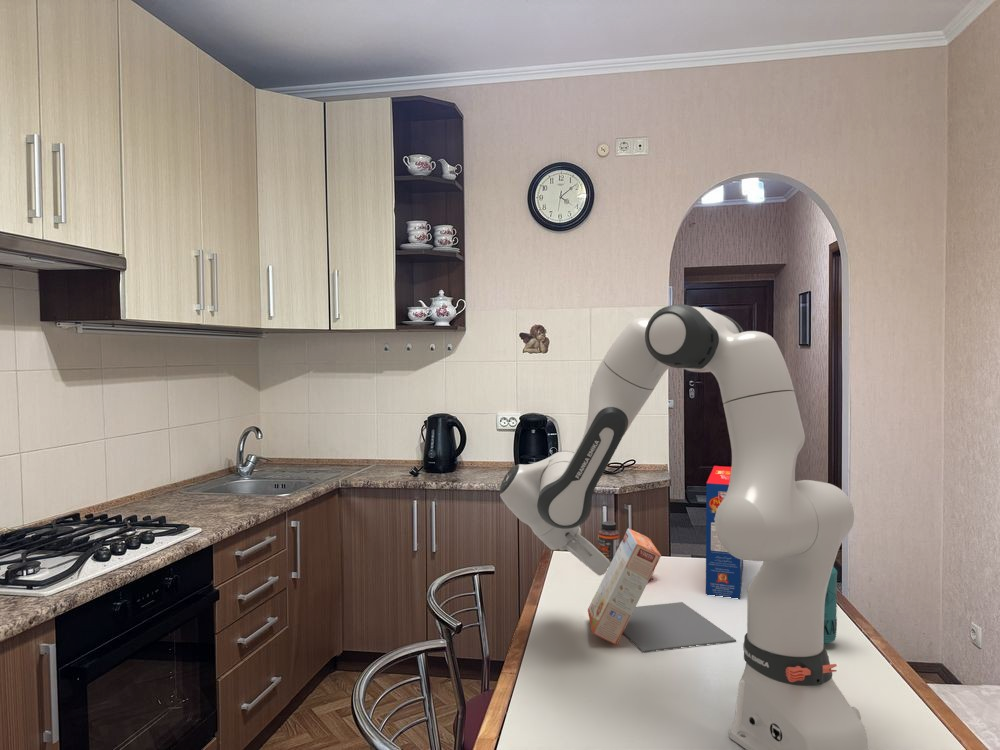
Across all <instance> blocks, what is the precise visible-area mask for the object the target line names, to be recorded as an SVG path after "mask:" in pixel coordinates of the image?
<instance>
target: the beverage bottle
mask: <svg viewBox="0 0 1000 750" xmlns="http://www.w3.org/2000/svg"><path fill="white" fill-rule="evenodd" d="M837 578H838V570H837V569H836V568H835V566H833V568H832V572H831V575H830V579H829V583H828V587H827V591H826V597H825V607H824V642H823V644H824V643H825V644H826V643H833V642H834V641H835V640H836V638H837V634H838V633H837V626H838V624H837V623H838V621H837V616H838V613H837V612H838V610H837V607H838V605H837V602H838V601H837V600H838V596H837V595H838V594H837V589H838V588H837V587H838V584H837V583H838V582H837V581H838V579H837Z"/></svg>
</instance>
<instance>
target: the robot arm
mask: <svg viewBox="0 0 1000 750" xmlns="http://www.w3.org/2000/svg"><path fill="white" fill-rule="evenodd" d="M670 368H674V369H682V370H686V371H689V372H693V373H711V374H713V376H714V377H715V379H716V381H717V383H718V386H719V387H718V388H719V389H720V390H719V391H720V396H721V401H722V404H723V409H724V414H725V419H726V425H727V431H728V435H729V441H730V448H731V466H730V467H731V476H730V482H729V487H728V490H727V493H726V495H725V497H724V499H723V501H722V502H721V504H720V505H719V507H718V509H717V511H716V515H715V529H716V533H717V536H718V539H719V541H720V543H721V544H722V546H723V547H724V548H725V550H726V551H727V552H728V553H730V554H731V555H732V556H734V557H736V558H738V559H741V560H743V561H750V562H762V564H761V566H760V568H759V570H758V572H757V573H756V575H755V576H754V577H753V579H752V580H751V581H750V583H749V586H748V589H747V597H746V598H747V599H746V600H747V605H746V606H747V609H746V610H747V615H746V619H747V621H746V622H747V623H746V628H747V630H746V633H745V634H744V640H743V645H742V648H743V649H742V650H743V660H744V661H745V666H744V669H743V672H742V675H741V678H740V679H739V682H738V688H737V696H736V697H737V698H736V709H735V716H734V717H735V718H734V722H733V724H732V725H731V726H730V727H729V731H728V737H729V738H730V739H731V740H733V742H736V743H737V744H738V745H740V746H741V747H742V748H743V749H745V750H869V742H868V741H869V740H868V735H867V731H866V727H865V725H864V723H863V722H862V718H861V713H860V711H859V709H858V708H857V707H855V706H851V704H850V703H849V701H848V700H847V699H846V697H845V695H844V694H843V693H842V691H841V690H840V688H839V687H838V685H837V683H836V682H835V681H834V679H833V673H835V672H837V671H838V670H837V669H834V668H836V667H837V663H833V664H832V663H831V662H830V657H829V654H828V652H827V648H826V645H825V644H824V643H823V642H824V607H825V597H826V591H827V587H828V583H829V579H830V575H831V572H832V568H833V567H834V564H835V561H836V558H837V555H838V552H839V550H840V547H841V545H842V543H843V541H844V540H845V538H846V537H847V535H848V534H849V533H850V532H851V530H852V528H853V525H854V521H855V510H854V507H853V504H852V502H851V500H850V498H849V497H848V495H847V494H846V492H844V491H843V490H842V489H841V488H840V487H838V486H836V485H835V484H832V483H828V482H824V481H820V480H811V479H810V480H809V479H803V480H797V481H796V464H797V458H798V456H799V453H800V451H801V450H802V448H803V446H804V444H805V440H806V435H805V434H806V433H805V431H804V426H803V421H802V419H801V418H802V417H801V413H800V409H799V406H798V405H799V404H798V400H797V396H796V392H795V388H794V385H793V381H792V378H791V375H790V371H789V369H788V366H787V363H786V360H785V358H784V356H783V354H782V352H781V348H779V344H778V343H777V341H776V340H775V339H774V337H772V335H770V334H768V333H766V332H762V331H757V330H747V331H744V329H743V328H742V327H741V325H739V323H738V322H737V321H735V320H734V319H733V318H731V317H729V316H727V315H725V314H720V313H718V312H715V311H713V310H711V309H709V308H705V307H701V306H700V307H699V306H691V305H689V304H682V303H680V304H672V305H668V306H665V307H662V308H660V309H659V310H657V311H656V312H655V313H653V315H652V316H651V317H637V318H635V319H632V321H630V322H629V324H628V325H626V327H624V329H623V330H622V332H621V333H620V334H619V335H618V336H617V337H616V339H615V340H614V342H613V343H612V345H611V346H610V347H609V349H608V350H607V352H606V353H605V355H604V357H603V358H602V361H601V362H600V364H599V366H598V368H597V369H596V372H595V375H594V377H593V379H592V383H591V386H590V389H589V396H588V397H589V399H588V411H587V419H586V420H587V421H586V425H585V429H584V433H583V435H582V438H581V440H580V442H579V444H578V445H577V448H576V450H575V451H574V452H573V451H570V450H561V451H557V452H555V453H552V454H551V455H550V456H548V457H546V458H545V459H542V460H539V461H537V462H534V463H529V464H521V463H520V464H515V466H513V467H511V468H510V470H508V472H507V473H506V474H505V476H504V477H503V480H502V481H501V484H500V489H499V496H500V499H501V500H502V502H503V503H504V504H505V506H506V507H507V508H508V509H509V510H510V512H511V513H512V514H514V515H515V516H516V518H517V519H518V520H519V521H520V522H522V523H523V524H526V525H527V526H528V527H530V529H531V531H532V533H533V534H534V535H535V536H536V537H537V538H538V539H540V541H541V542H542V543H543V544H545V546H547V547H548V548H549V550H552V551H556V550H560V551H565V550H567V551H568V552H569V553H570V554H571V555H573V556H574V557H576V558H577V560H579V561H580V562H581V563H583V565H585V566H586V567H588V568H589V570H591V571H592V572H594V574H596V575H597V576H603V575H604V576H605V574H606V572H607V570H608V568H609V566H610V564H611V563H610V561H609V560H608V559H607V558H606V557H605V556H604V555H603V554H602V553H601V552H600V551H599V550H598V547H596V546H595V545H594V544H593V543H591V542H590V541H589V540H588V539H586V537H584V536H582V528H581V527H580V526H581V525H583V524H584V523H585V522H586V521H587V520H588V518H589V517H590V514H591V511H592V502H593V500H592V499H593V496H594V495H593V494H594V491H595V489H596V487H597V485H598V483H599V482H600V480H601V477H602V476H603V474H604V472H605V470H606V469H607V467H608V466H609V463H610V462H611V460H612V458H613V456H614V454H615V452H616V450H617V448H618V447H619V445H620V443H621V441H622V440H623V437H624V436H625V434H626V433H627V431H628V430H629V428H630V426H631V425H632V423H633V422H634V420H635V419H636V417H637V415H638V414H639V413H640V411H641V410H642V409H643V407H644V405H645V404H646V402H647V401H648V399H649V398H650V397H651V394H652V393H653V392H654V390H655V388H656V386H657V385H658V383H659V382H660V381H661V379H662V377H663V375H664V374H665V373H666V371H667V370H669V369H670Z"/></svg>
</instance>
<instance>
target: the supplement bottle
mask: <svg viewBox="0 0 1000 750" xmlns="http://www.w3.org/2000/svg"><path fill="white" fill-rule="evenodd" d="M597 532H598V535H597V541H598V542H597V543H598V544H597V549H598V550H599V551H600V552H601V553H602V554H603V555H604V556H605V557H606V558H607V559H608V560H609V561H610V563H611V562H612V560H613V558H614V556H615V554H616V552H617V549H618V547H619V545H620V532H619V530H617V526H616V522H614V521H608V520H607V521H602V522H601V528H600V529H599V530H598V531H597Z"/></svg>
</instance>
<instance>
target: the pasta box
mask: <svg viewBox="0 0 1000 750" xmlns="http://www.w3.org/2000/svg"><path fill="white" fill-rule="evenodd" d="M731 467H732V466H723V465H722V466H719V465H713V468H712V470H711V472H710V474H709V476H708V478H707V481H706V485H705V487H706V494H705V495H706V497H705V500H706V502H705V503H706V505H705V506H706V509H705V512H706V515H705V519H706V521H705V595H706V594H707V595H706V596H708V595H715V596H714V597H716V596H723V597H722V598H724V597H731V598H730V599H732V598H738V599H737V600H741V595H740V594H742V582H743V574H744V573H743V571H744V560H741V559H738V558H736V557H734V556H732V555H731V554H730V553H728V552H727V551H726V550H725V548H724V547H723V546H722V544H721V543H720V541H719V539H718V536H717V533H716V529H715V515H716V511H717V509H718V507H719V505H720V504H721V502H722V501H723V499H724V497H725V495H726V493H727V490H728V487H729V482H730V476H731Z"/></svg>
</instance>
